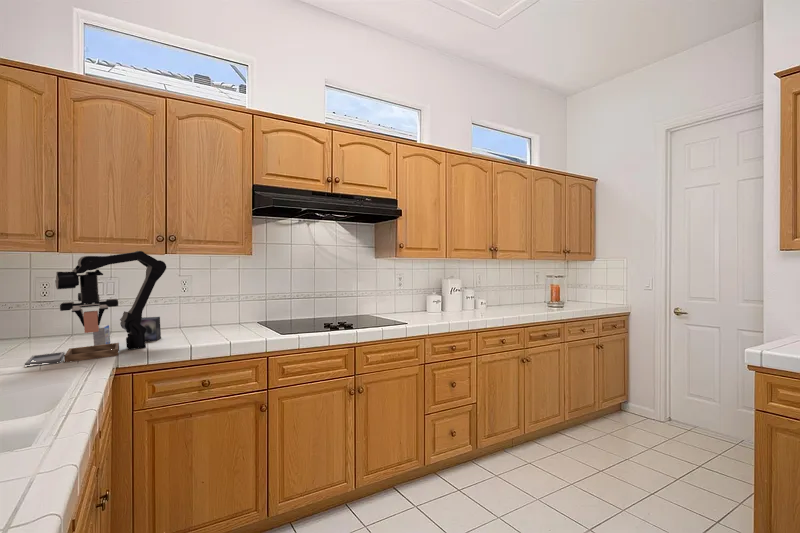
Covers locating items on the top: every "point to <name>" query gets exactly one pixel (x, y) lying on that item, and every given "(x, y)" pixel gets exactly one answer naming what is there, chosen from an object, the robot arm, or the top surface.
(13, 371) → the top surface
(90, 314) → the brick block
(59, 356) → the charcoal tray
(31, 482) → the top surface
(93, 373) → the top surface
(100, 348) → the frame
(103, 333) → the medicine box
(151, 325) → the small box
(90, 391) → the top surface
